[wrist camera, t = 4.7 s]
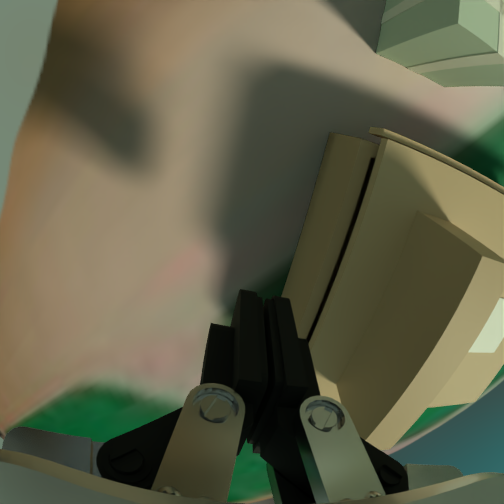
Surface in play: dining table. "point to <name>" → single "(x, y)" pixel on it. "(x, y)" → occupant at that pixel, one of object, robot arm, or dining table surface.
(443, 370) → the lid
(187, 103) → the dining table surface
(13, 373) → the dining table surface
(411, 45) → the gift block
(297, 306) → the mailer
